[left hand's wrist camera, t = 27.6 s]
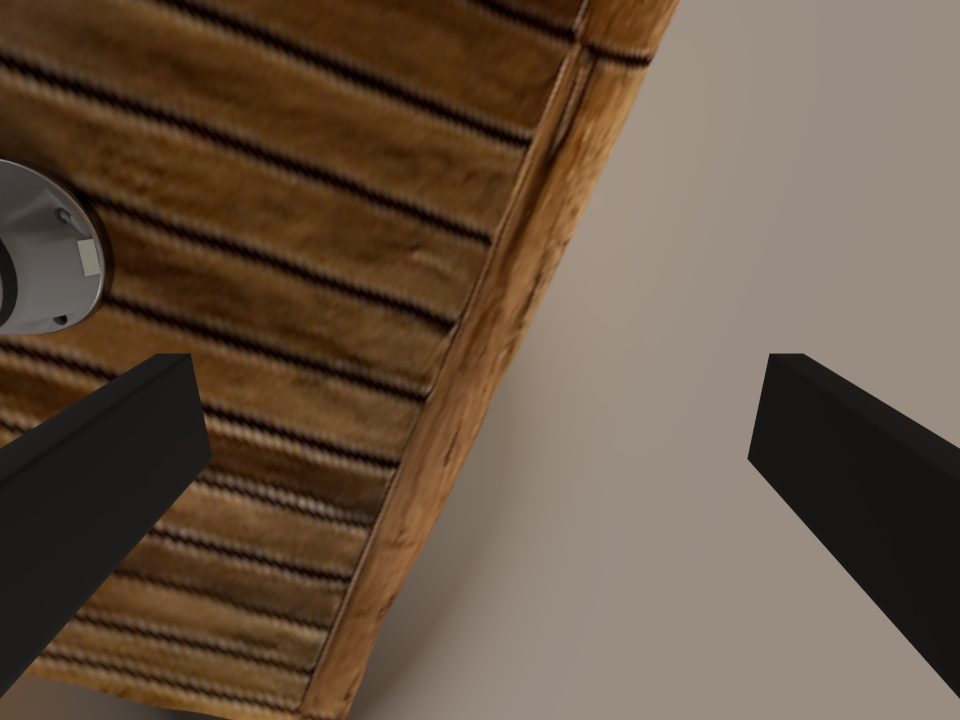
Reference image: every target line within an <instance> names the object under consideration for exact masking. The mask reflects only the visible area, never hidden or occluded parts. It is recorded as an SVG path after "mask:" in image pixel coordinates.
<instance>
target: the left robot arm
mask: <svg viewBox="0 0 960 720" xmlns="http://www.w3.org/2000/svg"><path fill="white" fill-rule="evenodd" d="M113 276H114V261H113V254H112V248H111V245H110V242H109V239H108V236H107V233H106V231H105V229H104V227H103V225H102V223H101V221H100V220H99V218H98V216H97V215H96V213H95V212H94V210H93V209H92V208H91V206H90V205H89V204H88V203H87V201H86V200H85V199H84V198H83V197H82V196H81V195H80V194H79V193H78V192H77V191H76V190H75V189H74V188H73V187H71V186H70V185H69V184H68V183H66V182H65V181H64V180H63V179H61V178H59V177H58V176H56V175H55V174H53V173H51V172H50V171H48V170H46V169H44V168H42V167H39V166H37V165H34V164H31V163H29V162H25V161H21V160H17V159H10V158H0V334H46V333H53V332H57V331H61V330H63V329H66V328H69V327H71V326H74V325H76V324H78V323H81V322H83V321H85V320H87V319H88V318H89V317H91V316H92V315H93V314H95V313H96V312H97V311H98V310H99V309H100V308H101V306H102V305H103V304H104V302H105V301H106V299H107V297H108V295H109V292H110V290H111V287H112V282H113ZM211 460H212V454H211V449H210V444H209V440H208V435H207V430H206V425H205V421H204V416H203V411H202V406H201V401H200V397H199V392H198V387H197V382H196V378H195V373H194V368H193V363H192V359H191V354H155V355H154V356H152V357H150V358H149V359H147V360H145V361H144V362H142V363H140V364H139V365H137V366H135V367H134V368H132V369H130V370H129V371H127V372H126V373H124V374H122V375H121V376H119V377H117V378H116V379H114V380H112V381H111V382H109V383H107V384H106V385H104V386H102V387H101V388H99V389H98V390H96V391H94V392H93V393H91V394H89V395H88V396H86V397H84V398H83V399H81V400H79V401H78V402H76V403H75V404H73V405H71V406H70V407H68V408H66V409H65V410H63V411H61V412H60V413H58V414H56V415H55V416H53V417H51V418H50V419H48V420H47V421H45V422H43V423H42V424H40V425H38V426H37V427H35V428H33V429H32V430H30V431H28V432H27V433H25V434H23V435H22V436H20V437H19V438H17V439H15V440H14V441H12V442H10V443H9V444H7V445H5V446H4V447H2V448H0V698H1V697H2V696H3V695H4V694H5V693H6V692H7V690H8V689H9V688H10V687H11V686H12V685H13V684H14V683H15V681H16V680H17V679H18V678H19V677H20V676H21V675H22V673H23V672H24V671H25V670H26V669H27V668H28V667H29V666H30V664H31V663H32V662H33V661H34V660H35V659H36V658H37V657H38V655H39V654H40V653H41V652H42V651H43V650H44V649H45V648H46V646H47V645H48V644H49V643H50V642H51V641H52V640H53V638H54V637H55V636H56V635H57V634H58V633H59V632H60V631H61V629H62V628H63V627H64V626H65V625H66V624H67V623H68V622H69V620H70V619H71V618H72V617H73V616H74V615H75V614H76V613H77V611H78V610H79V609H80V608H81V607H82V606H83V605H84V604H85V602H86V601H87V600H88V599H89V598H90V597H91V596H92V594H93V593H94V592H95V591H96V590H97V589H98V588H99V587H100V585H101V584H102V583H103V582H104V581H105V580H106V579H107V578H108V576H109V575H110V574H111V573H112V572H113V571H114V570H115V569H116V567H117V566H118V565H119V564H120V563H121V562H122V561H123V559H124V558H125V557H126V556H127V555H128V554H129V553H130V552H131V550H132V549H133V548H134V547H135V546H136V545H137V544H138V543H139V541H140V540H141V539H142V538H143V537H144V536H145V535H146V534H147V532H148V531H149V530H150V529H151V528H152V527H153V526H154V524H155V523H156V522H157V521H158V520H159V519H160V518H161V517H162V515H163V514H164V513H165V512H166V511H167V510H168V509H169V508H170V506H171V505H172V504H173V503H174V502H175V501H176V500H177V499H178V497H179V496H180V495H181V494H182V493H183V492H184V491H185V490H186V488H187V487H188V486H189V485H190V484H191V483H192V482H193V480H194V479H195V478H196V477H197V476H198V475H199V474H200V473H201V471H202V470H203V469H204V468H205V467H206V466H207V465H208V464H209V462H210V461H211ZM748 460H749V461H750V462H751V463H752V465H753V466H754V467H755V468H756V469H757V470H758V471H759V473H760V474H761V475H762V476H763V477H764V478H765V479H766V480H767V482H768V483H769V484H770V485H771V486H772V487H773V488H774V490H775V491H776V492H777V493H778V494H779V495H780V496H781V497H782V498H783V500H784V501H785V502H786V503H787V504H788V505H789V506H790V508H791V509H792V510H793V511H794V512H795V513H796V514H797V515H798V517H799V518H800V519H801V520H802V521H803V522H804V523H805V524H806V526H807V527H808V528H809V529H810V530H811V531H812V532H813V534H814V535H815V536H816V537H817V538H818V539H819V540H820V541H821V543H822V544H823V545H824V546H825V547H826V548H827V549H828V550H829V552H830V553H831V554H832V555H833V556H834V557H835V558H836V559H837V561H838V562H839V563H840V564H841V565H842V566H843V567H844V569H845V570H846V571H847V572H848V573H849V574H850V575H851V576H852V578H853V579H854V580H855V581H856V582H857V583H858V584H859V585H860V587H861V588H862V589H863V590H864V591H865V592H866V593H867V594H868V596H869V597H870V598H871V599H872V600H873V601H874V602H875V604H876V605H877V606H878V607H879V608H880V609H881V610H882V611H883V613H884V614H885V615H886V616H887V617H888V618H889V619H890V620H891V622H892V623H893V624H894V625H895V626H896V627H897V628H898V629H899V631H900V632H901V633H902V634H903V635H904V636H905V637H906V638H907V640H908V641H909V642H910V643H911V644H912V645H913V646H914V648H915V649H916V650H917V651H918V652H919V653H920V654H921V655H922V657H923V658H924V659H925V660H926V661H927V662H928V663H929V664H930V666H931V667H932V668H933V669H934V670H935V671H936V672H937V673H938V675H939V676H940V677H941V678H942V679H943V680H944V681H945V682H946V684H947V685H948V686H949V687H950V688H951V689H952V690H953V691H954V693H955V694H956V695H957V696H958V697H959V698H960V448H958V447H956V446H955V445H953V444H951V443H950V442H948V441H946V440H945V439H943V438H941V437H940V436H938V435H936V434H935V433H933V432H932V431H930V430H928V429H927V428H925V427H923V426H922V425H920V424H918V423H917V422H915V421H913V420H912V419H910V418H909V417H907V416H905V415H904V414H902V413H900V412H899V411H897V410H895V409H894V408H892V407H890V406H889V405H887V404H885V403H884V402H882V401H881V400H879V399H877V398H875V397H874V396H872V395H871V394H869V393H867V392H866V391H864V390H862V389H861V388H859V387H857V386H856V385H854V384H853V383H851V382H849V381H848V380H846V379H844V378H843V377H841V376H839V375H838V374H836V373H834V372H833V371H831V370H830V369H828V368H826V367H824V366H823V365H821V364H820V363H818V362H816V361H815V360H813V359H811V358H810V357H808V356H806V355H805V354H769V359H768V364H767V368H766V373H765V378H764V382H763V387H762V392H761V397H760V401H759V406H758V411H757V416H756V421H755V425H754V430H753V435H752V440H751V444H750V449H749V454H748Z"/></svg>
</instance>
